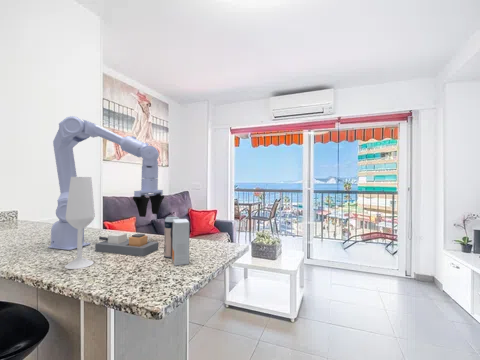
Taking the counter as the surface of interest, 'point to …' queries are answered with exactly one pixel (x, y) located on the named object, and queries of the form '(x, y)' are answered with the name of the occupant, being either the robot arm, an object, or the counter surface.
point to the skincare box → (180, 242)
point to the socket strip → (124, 246)
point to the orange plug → (138, 240)
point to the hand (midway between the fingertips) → (149, 215)
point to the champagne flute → (80, 214)
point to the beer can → (168, 236)
